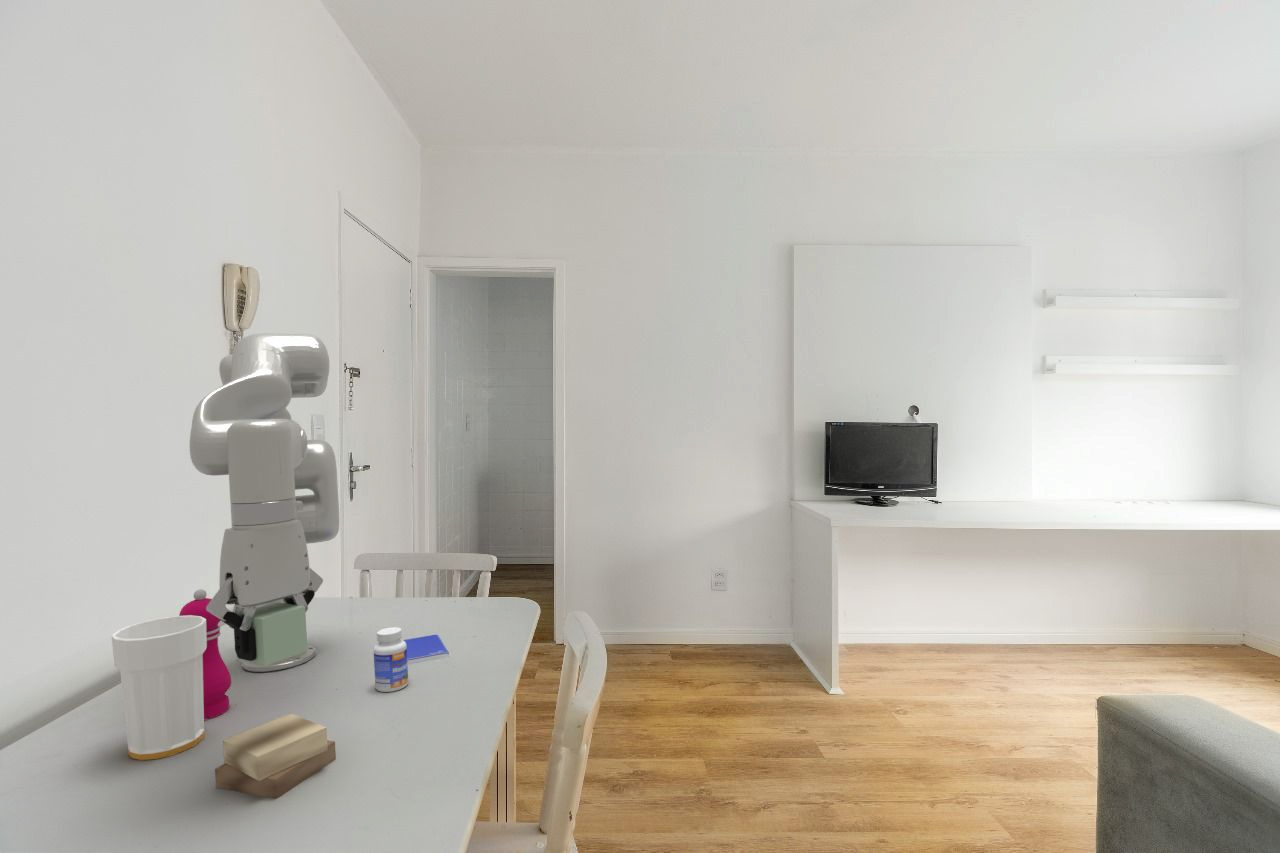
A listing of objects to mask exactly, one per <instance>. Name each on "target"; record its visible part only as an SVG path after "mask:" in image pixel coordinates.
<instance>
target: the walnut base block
mask: <svg viewBox="0 0 1280 853" xmlns="http://www.w3.org/2000/svg"><path fill="white" fill-rule="evenodd" d="M327 747H328V750H326V751H324V752H322V753H319V754H317V755H315V756H313V757H311V758H308V759H306V760H304V761H302V762H300V763H298V764H295V765H293V766H291V767H289V768H287V769H284V770H282V771H280V772H278V773H276V774H273V775H271V776H269V777H267V778H265V779H263V780H260V781H258V780H256V779H254V778H252V777H251V776H249V775H247V774H245V773H243V772H241V771H239V770H237V769H236V768H234V767H232V766H230V765H228V764H226V763H223V764H221V765H220V766H218V767H216V768H214V773H215V774H214V775H215V777H214V778H215V788H216V789H221V790H226V791H233V792H238V793H244V794H249V795H253V796H259V797H260V796H261V797H264V798H271V799H279V798H280V797H282V796H283V795H285V794H286V793H288V792H290V791H291V790H292V789H293V788H295V787H296V786H299V785H300V784H301V783H303V782H304V781H306V780H307V779H308V778H310V777H312V776H313V775H315V774H316V773H317V772H319V771H320V770H322V769H323V768H325V767H326V766H327V765H329V764H331V763H332V762H334V761H335V760H336V759H337V753H336V741H335V740H334V741H333V740H328V739H327Z"/></svg>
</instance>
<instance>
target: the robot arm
mask: <svg viewBox="0 0 1280 853" xmlns="http://www.w3.org/2000/svg"><path fill="white" fill-rule="evenodd" d="M326 347H327V346H326V345H325V343H324V342H323V341H322V340H321V338H319V337H317V336H316V335H313V334H307V333H254V334H250V335H247V336H244V337H243V338H241V339H239V340H238V341H237V342H236V344H235V345H234V347H233V350H232V353H231V354H227V355H226V356H224V357H223V358H222V359H221V360H220V363H219V368H218V370H219V377H220V380H221V383H222V385H221V386H220V387H218V388H217V389H215V390H213V391H211V392H209V394H207V395H206V396H205V397H203V398H202V399H201V400H200V402H199V403H198V404H197V405H196V407H195V409H194V412H193V416H192V420H191V429H190V432H189V434H190V435H189V456H190V460H191V463H192V466H194V468H195V469H196V470H197V471H198V472H199V473H201V474H203V475H206V476H214V477H215V476H227V475H228V483H229V501H230V515H231V517H230V519H231V527H229V528H225V529H224V533H223V537H222V544H221V549H220V550H221V551H220V560H219V589H218V591H216V593H215V594H214V596H213V597H212V598H211V599H212V600H211V601H210V602H209V604H208V605H207V607H206V610H207V611H208V612H209V613H211V614H213V615H214V616H216V617H218V618H219V619H220V620H221V621H220V622H222V623H224V624H225V625H227V626H228V627H229V628H230V629H232V630H233V637H234V652H235V655H236V654H237V657H238V658H239V659H244V660H248V661H253V660H255V659H256V638H255V629H253V628H251V623H252V620H253V616H254V613H255V610H256V608H258V607H261V606H265V605H269V604H272V603H276V602H280V603H286V604H293V605H299V606H305V614H306V613H307V612H308V610H309V604H310V603H312V600H313V599H314V598H315V594H316V593H317V591H319V589H320V587H321V585H322V584H323V581H324V579H323V578H322V577H321V575H319V574H318V573H317V572H315V570H313V569H312V568H311V567H310V559H309V558H310V557H309V552H308V551H309V550H308V544H317V543H323V542H328V541H331V540H333V539H335V538H336V536H338V533H339V530H340V505H339V504H340V503H339V502H340V501H339V489H338V488H339V486H338V470H337V460H336V455H335V451H334V449H333V447H332V445H331V444H330V443H329V442H327V441H325V440H322V439H308V437H307V436H308V435H307V433H306V431H305V429H303V428H302V427H301V425H300V424H299V423H298V422H296V421H295V420H293V419H292V416H291V414H290V412H289V410H288V409H287V407H288V405H289V404H290V403H291V400H292V399H297V398H298V399H299V398H301V399H302V398H303V399H305V398H308V399H309V398H317V397H319V396H322V395H323V393H325V391H326V390H327V386H328V380H329V374H330V357H329V352H328V349H327V348H326ZM306 489H307V490H310V491H312V492H313V494H307V495H306V494H305V495H303V494H302V495H296V490H306ZM227 605H234V606H233V609H232V611H231V610H230V609H229V608H227ZM314 656H316V647H315V646H314V645H312V644H309V643H307V651H306V652H304V653H301V654H298V655H295V656H292V657H289V658H287V659H284V660H281V661H278V662H275V663H273V664H270V665H267V666H261V665H257V664H252V663H248V662H243V661H241V662H242V668H243V669H244V670H245V671H249V672H254V673H255V672H256V673H260V672H262V673H263V672H264V673H265V672H275V671H281V670H285V669H289V668H293V667H296V666H300V665H302V664H304V663H306V662H308V661H310V660H311V659H312V658H314Z"/></svg>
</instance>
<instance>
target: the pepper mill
mask: <svg viewBox="0 0 1280 853" xmlns="http://www.w3.org/2000/svg"><path fill="white" fill-rule="evenodd" d="M211 600H212V598H207V591H205V590H204V589H197V590H196V591H195V592H194V593H193V600H190V601H189V602H187V603H186V604H185V605H183V607H182V608H181V609H180V611H179V615H178V616H188V615H193V616H201V617H203V618H205V619H206V634H207V648H206V650H205V651H204V653H203V701H204V720H209V719H212V718H214V717H217V716H221V715H223V713H226V712H227V711H228V710H229V708H230V697H229V695H227V691H229V690H230V688H231V686H232V676H231V672H230V670H229V669H228V667H227V665H226V663H225V662H224V659H223V658H222V656H221V653H220V649H219V637H220V636H221V634H222V633H221V626H220V625H218V624H219V623H220V622H222V621H221V620H220V619H219V618H218V617H216V616H214V615H213V614H211V613H209V612H208V611H207V610H206V607H207V605H208V604H209V602H210V601H211Z"/></svg>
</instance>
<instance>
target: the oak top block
mask: <svg viewBox="0 0 1280 853" xmlns="http://www.w3.org/2000/svg"><path fill="white" fill-rule="evenodd" d="M327 733H328V732H327V727H326V726H323V725H321V724H318V723H316V722H314V721H311V720H308V719H305V718H303V717H301V716H298V715H295V714H294V713H291V712H290V713H288V714H285V715H282V716H281V717H280V716H279V717H278V718H275V719H273V720H270V721H267V722H265V723H262V724H259V725H257V726H254V727H252V728H250V729H247V730H244V731H243V732H242V731H241V732H239V733H237V734H234V735H232V736H228V737H227V738H224V739H222V747H223V748H222V749H223V764H225V763H226V764H228V765H230V766H232V767H234V768H236V769H237V770H239V771H241V772H243V773H245V774H247V775H249V776H251V777H252V778H254V779H256V780H258V781H260V780H263V779H265V778H267V777H269V776H271V775H273V774H276V773H278V772H280V771H282V770H284V769H287V768H289V767H291V766H293V765H295V764H298V763H300V762H302V761H304V760H306V759H308V758H311V757H313V756H315V755H317V754H319V753H322V752H324V751H326V750H328V747H327V740H328V734H327Z"/></svg>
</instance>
